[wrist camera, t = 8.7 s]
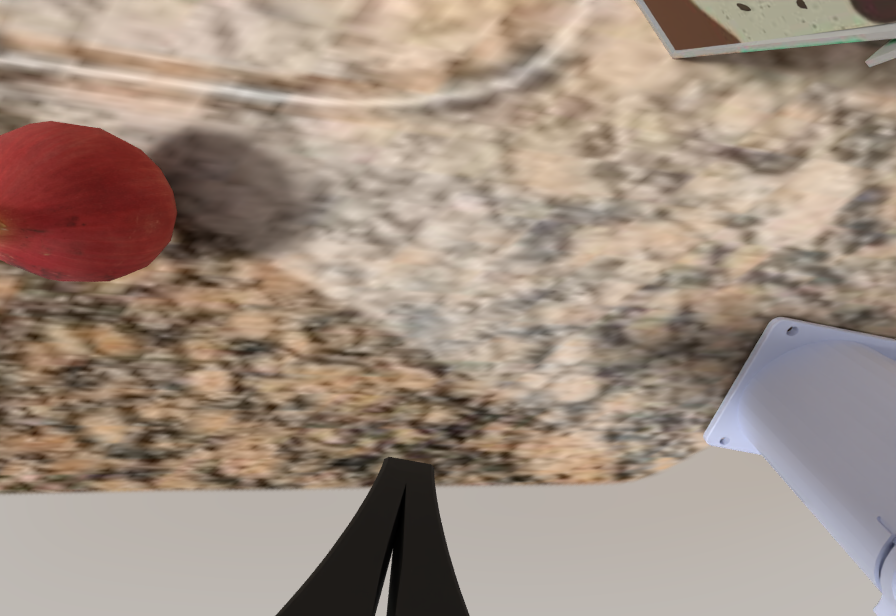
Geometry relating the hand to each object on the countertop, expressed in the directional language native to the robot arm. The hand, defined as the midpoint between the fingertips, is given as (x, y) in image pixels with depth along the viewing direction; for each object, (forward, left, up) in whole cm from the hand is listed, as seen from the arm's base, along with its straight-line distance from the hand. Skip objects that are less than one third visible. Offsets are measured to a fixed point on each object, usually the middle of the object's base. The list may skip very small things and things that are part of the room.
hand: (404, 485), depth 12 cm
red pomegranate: (+14, -4, -11) cm, 18 cm away
